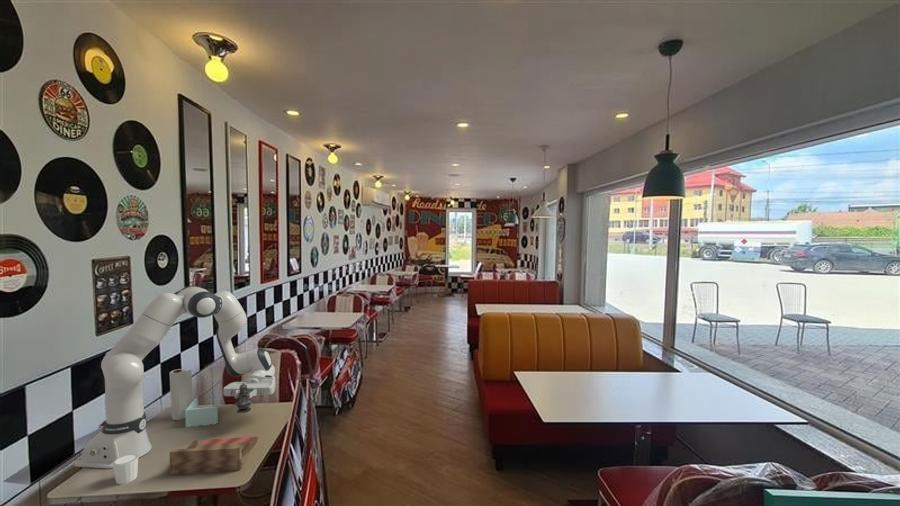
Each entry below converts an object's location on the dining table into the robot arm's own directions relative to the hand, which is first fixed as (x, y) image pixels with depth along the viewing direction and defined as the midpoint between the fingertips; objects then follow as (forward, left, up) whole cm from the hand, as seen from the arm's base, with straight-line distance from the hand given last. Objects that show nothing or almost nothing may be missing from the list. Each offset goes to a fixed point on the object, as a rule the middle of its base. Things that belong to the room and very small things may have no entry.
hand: (242, 396), depth 167 cm
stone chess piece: (0, +1, -7) cm, 7 cm away
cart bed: (-2, -17, -15) cm, 23 cm away
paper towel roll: (-33, +15, -15) cm, 39 cm away
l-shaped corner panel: (-21, +12, -15) cm, 29 cm away
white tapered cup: (-27, -29, -15) cm, 42 cm away
